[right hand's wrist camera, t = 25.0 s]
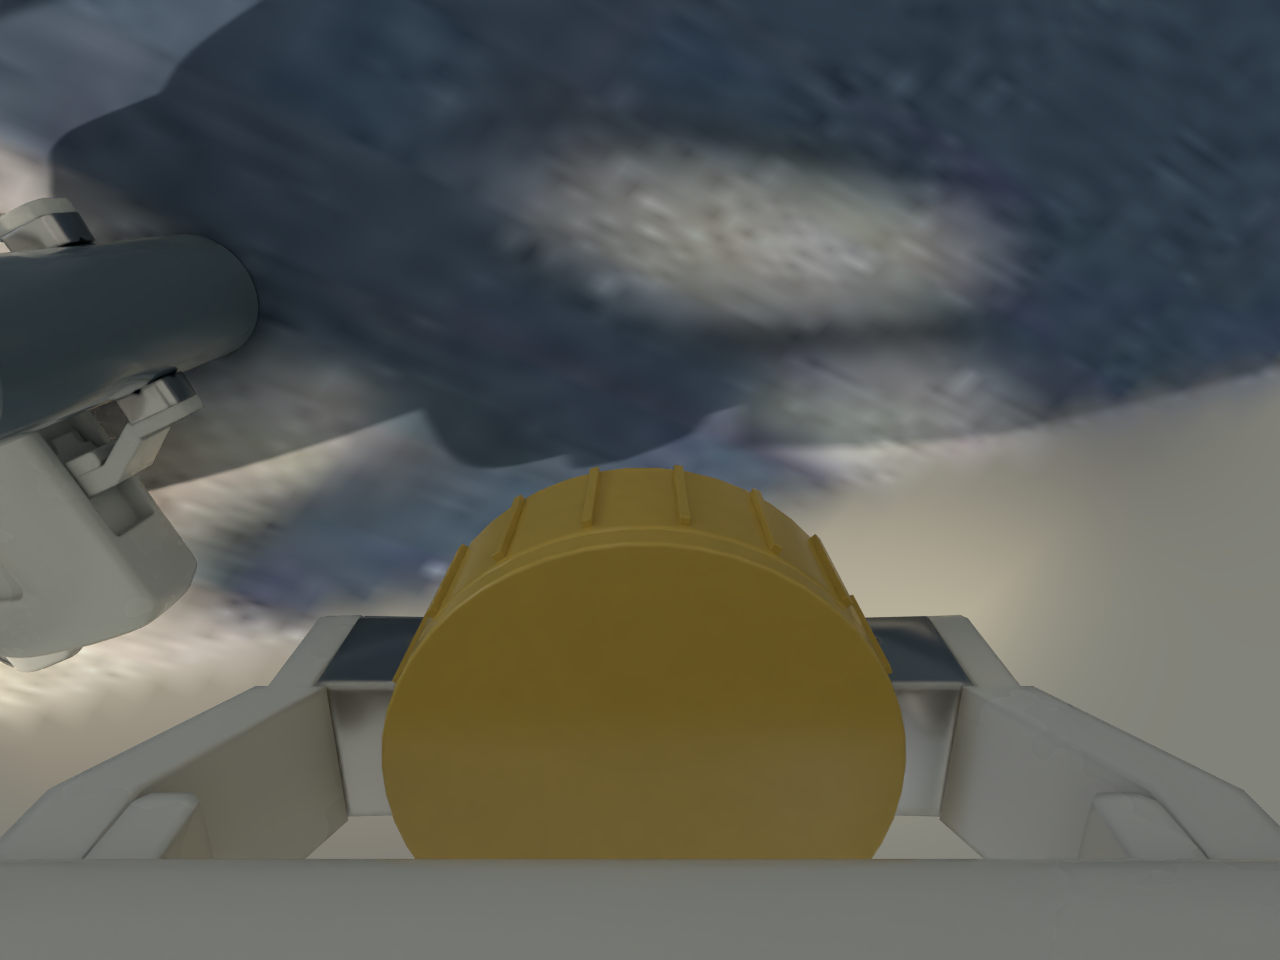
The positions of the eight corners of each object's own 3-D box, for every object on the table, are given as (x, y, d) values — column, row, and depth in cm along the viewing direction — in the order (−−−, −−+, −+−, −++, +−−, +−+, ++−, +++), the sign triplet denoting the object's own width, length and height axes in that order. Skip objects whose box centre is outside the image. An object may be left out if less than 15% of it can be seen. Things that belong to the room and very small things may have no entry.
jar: (240, 376, 33) (-83, 529, 18) (123, 324, 32) (-309, 441, 17) (274, 268, 31) (-50, 342, 17) (151, 211, 30) (-299, 236, 16)
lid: (485, 400, 9) (440, 462, 7) (932, 541, 10) (1011, 634, 8) (386, 771, 11) (328, 906, 9) (765, 868, 11) (792, 1014, 9)
